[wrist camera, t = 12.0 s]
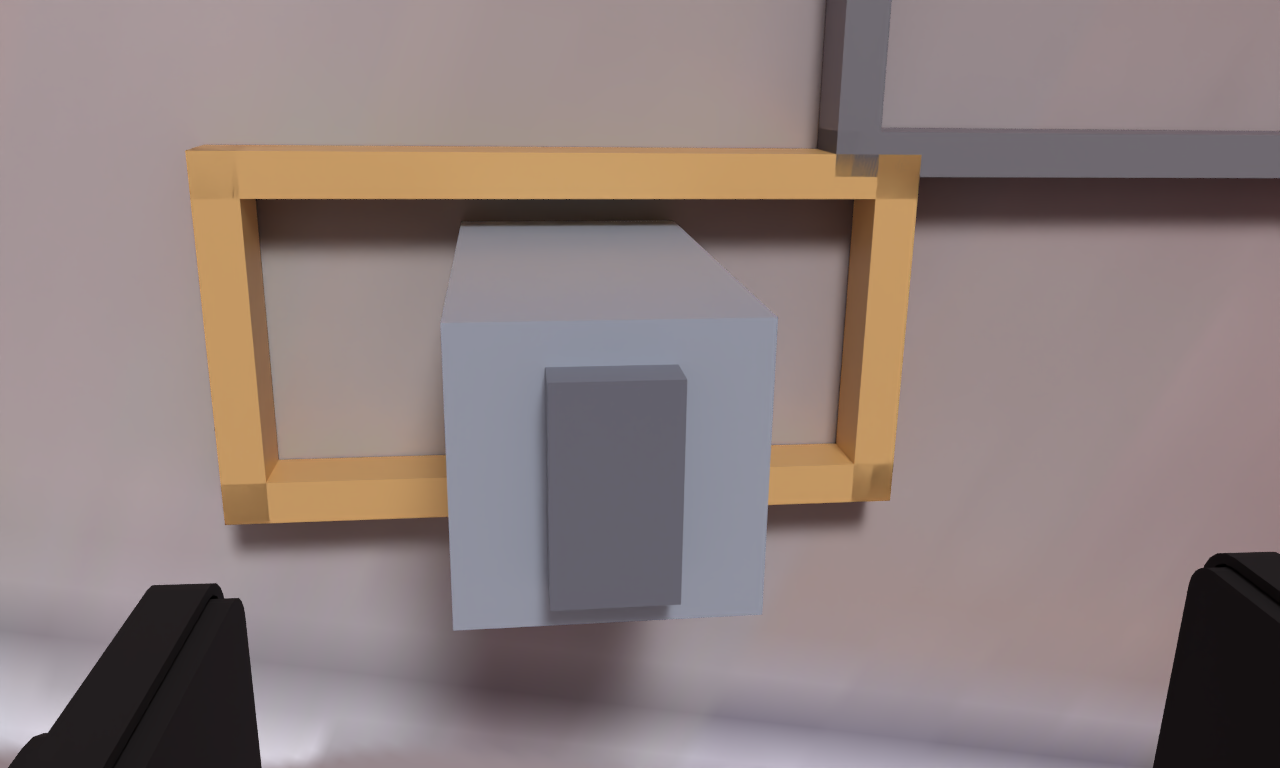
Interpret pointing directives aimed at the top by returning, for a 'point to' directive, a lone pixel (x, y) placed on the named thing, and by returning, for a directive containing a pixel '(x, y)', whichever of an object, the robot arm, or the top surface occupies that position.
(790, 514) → the top surface
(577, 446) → the plug
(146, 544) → the top surface
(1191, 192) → the top surface
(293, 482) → the tan grey double frame
